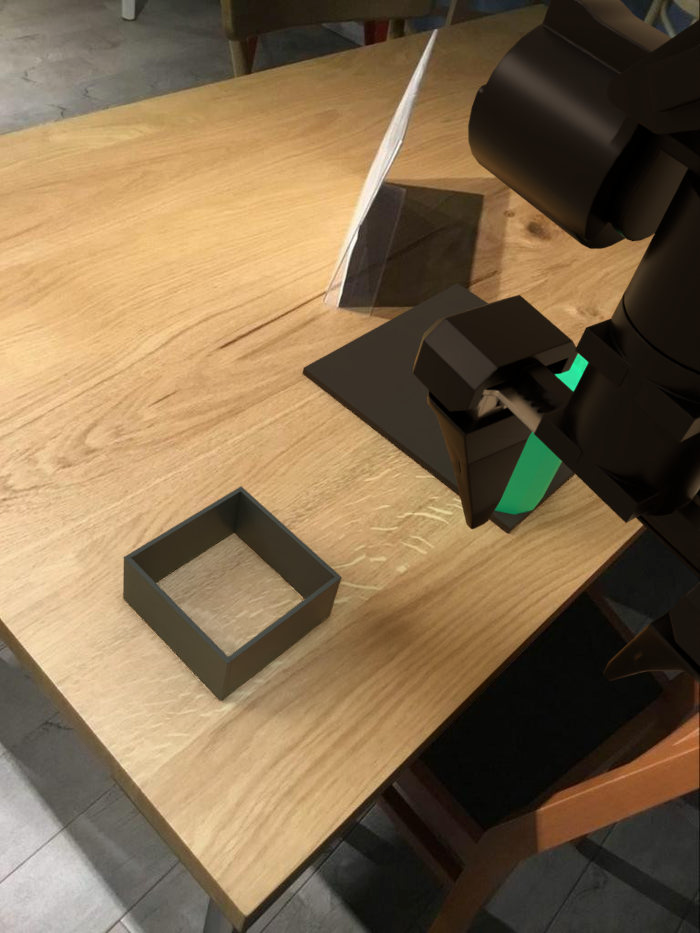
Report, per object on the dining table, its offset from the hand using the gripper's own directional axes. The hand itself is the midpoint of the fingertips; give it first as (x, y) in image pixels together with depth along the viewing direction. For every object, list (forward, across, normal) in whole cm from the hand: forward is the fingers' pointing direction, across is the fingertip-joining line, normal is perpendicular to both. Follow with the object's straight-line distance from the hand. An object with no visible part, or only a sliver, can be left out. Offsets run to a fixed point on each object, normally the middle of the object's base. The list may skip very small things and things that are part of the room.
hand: (540, 594), depth 40 cm
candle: (+13, +13, -15) cm, 23 cm away
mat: (+13, +21, -20) cm, 32 cm away
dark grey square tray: (+13, +13, +8) cm, 20 cm away
